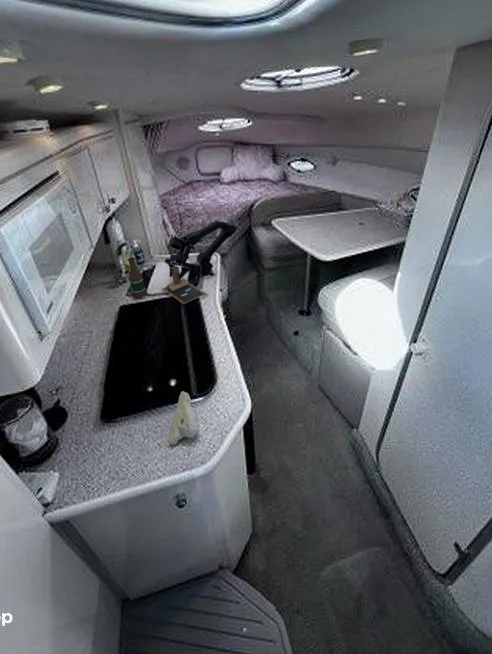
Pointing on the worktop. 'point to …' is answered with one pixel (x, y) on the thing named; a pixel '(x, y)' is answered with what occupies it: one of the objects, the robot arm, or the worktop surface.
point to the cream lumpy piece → (183, 420)
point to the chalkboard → (190, 296)
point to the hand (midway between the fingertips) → (174, 278)
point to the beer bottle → (136, 280)
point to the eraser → (176, 280)
